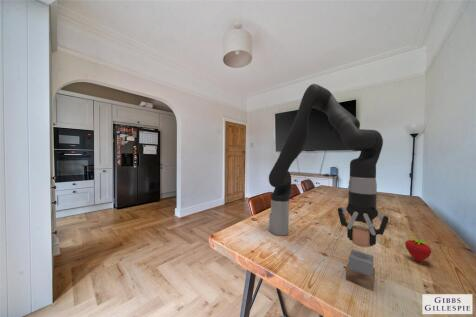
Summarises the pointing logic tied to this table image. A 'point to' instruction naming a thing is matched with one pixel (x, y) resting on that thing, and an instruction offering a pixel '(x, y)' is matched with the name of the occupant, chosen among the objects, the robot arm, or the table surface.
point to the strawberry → (418, 249)
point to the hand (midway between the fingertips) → (360, 242)
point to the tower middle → (361, 262)
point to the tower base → (360, 278)
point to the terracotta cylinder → (361, 236)
